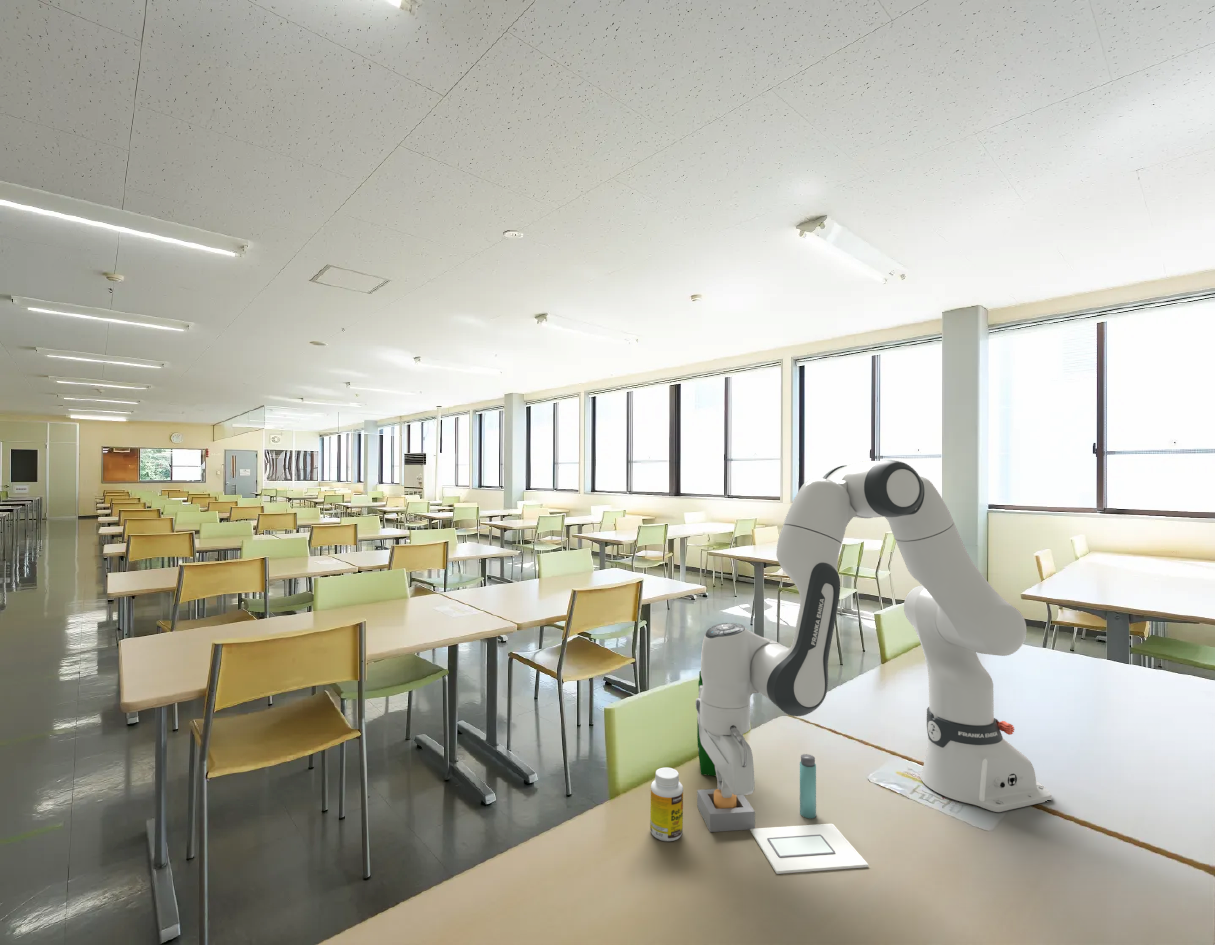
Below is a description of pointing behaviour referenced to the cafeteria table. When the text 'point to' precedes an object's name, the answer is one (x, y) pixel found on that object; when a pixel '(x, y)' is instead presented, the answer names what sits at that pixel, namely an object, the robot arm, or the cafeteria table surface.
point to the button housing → (725, 813)
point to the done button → (724, 801)
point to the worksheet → (807, 848)
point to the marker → (808, 786)
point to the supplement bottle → (666, 805)
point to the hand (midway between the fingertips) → (724, 793)
